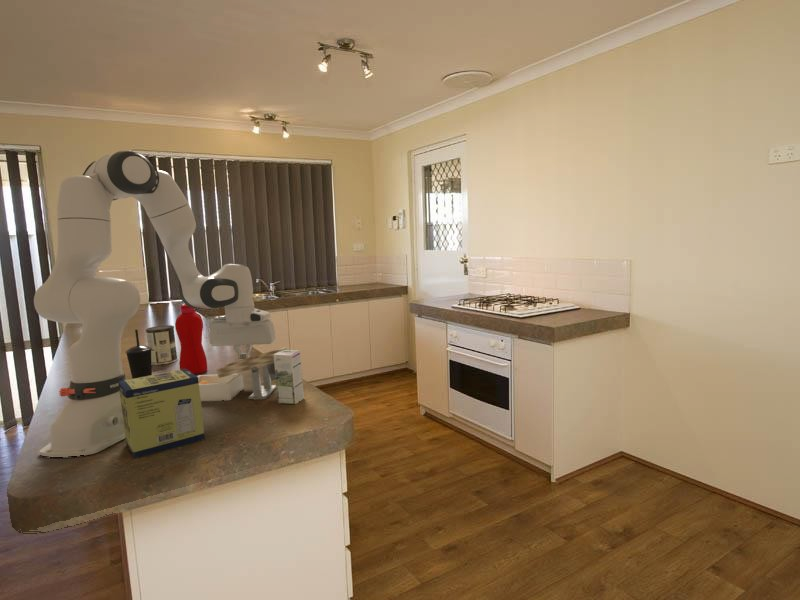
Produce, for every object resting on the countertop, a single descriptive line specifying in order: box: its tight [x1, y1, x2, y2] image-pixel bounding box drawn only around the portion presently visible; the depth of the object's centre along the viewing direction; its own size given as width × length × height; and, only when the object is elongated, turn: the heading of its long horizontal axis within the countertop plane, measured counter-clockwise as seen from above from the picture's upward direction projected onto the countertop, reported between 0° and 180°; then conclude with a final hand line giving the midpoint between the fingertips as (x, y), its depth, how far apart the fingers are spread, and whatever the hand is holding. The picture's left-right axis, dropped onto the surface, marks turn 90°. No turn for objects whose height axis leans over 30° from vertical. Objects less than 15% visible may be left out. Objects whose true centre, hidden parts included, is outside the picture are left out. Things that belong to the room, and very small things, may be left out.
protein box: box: [118, 369, 206, 459], centre depth 116 cm, size 10×16×16 cm
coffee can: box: [145, 324, 179, 366], centre depth 200 cm, size 10×10×14 cm
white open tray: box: [196, 372, 245, 402], centre depth 152 cm, size 11×14×5 cm
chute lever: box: [215, 346, 288, 382], centre depth 154 cm, size 20×14×8 cm
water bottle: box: [174, 304, 210, 375], centre depth 180 cm, size 9×11×25 cm
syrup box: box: [274, 349, 305, 405], centre depth 141 cm, size 6×6×14 cm
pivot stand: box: [248, 365, 277, 400], centre depth 151 cm, size 12×5×10 cm, turn 177°
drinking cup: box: [125, 329, 153, 379], centre depth 160 cm, size 8×8×20 cm
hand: (244, 358), depth 157 cm, fingers closed
